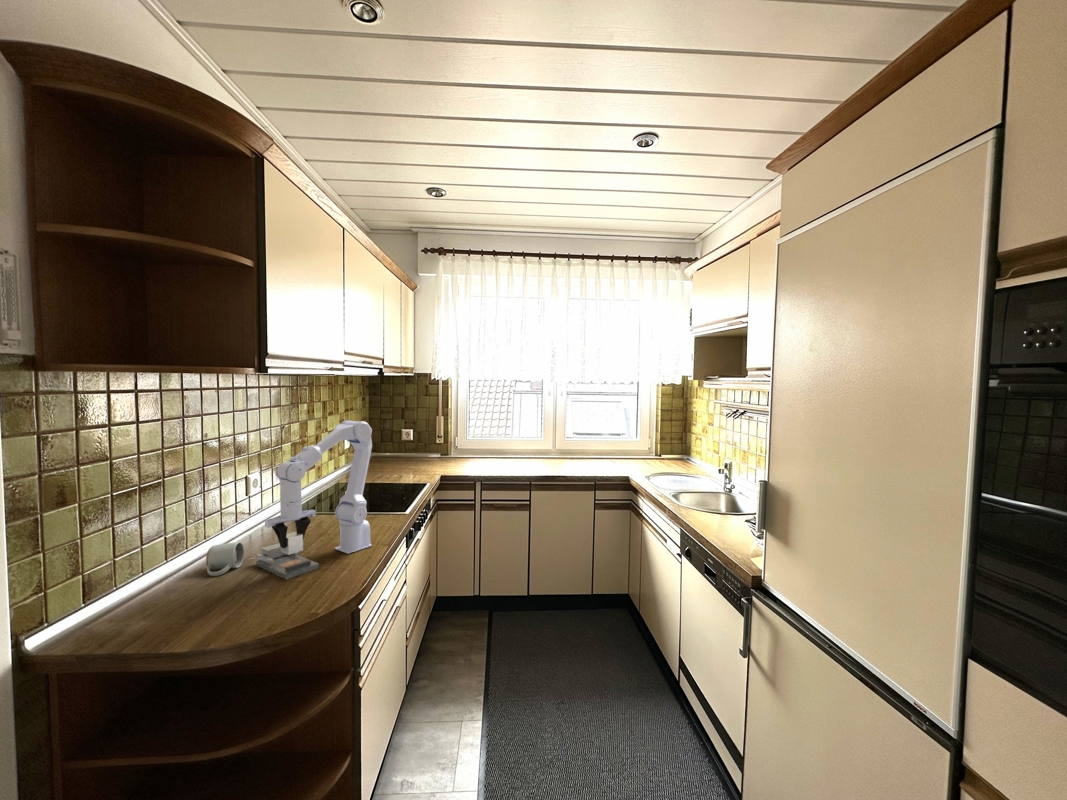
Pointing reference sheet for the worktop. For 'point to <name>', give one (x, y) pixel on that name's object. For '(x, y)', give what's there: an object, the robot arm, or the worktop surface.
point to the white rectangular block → (293, 543)
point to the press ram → (272, 551)
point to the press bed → (286, 565)
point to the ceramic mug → (224, 557)
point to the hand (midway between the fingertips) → (291, 544)
